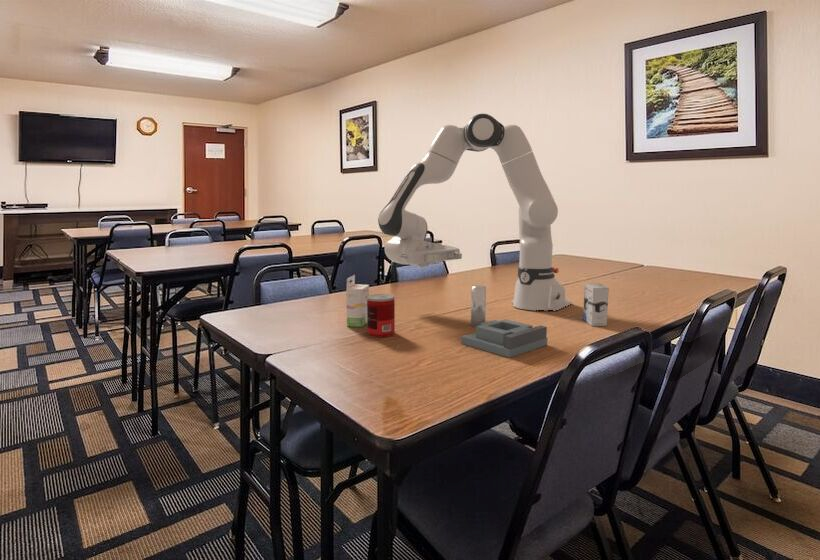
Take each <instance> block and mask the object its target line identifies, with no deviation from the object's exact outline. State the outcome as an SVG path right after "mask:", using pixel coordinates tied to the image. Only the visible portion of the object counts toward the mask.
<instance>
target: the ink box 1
mask: <svg viewBox="0 0 820 560" xmlns="http://www.w3.org/2000/svg"><path fill="white" fill-rule="evenodd" d="M350 281H351V282H350ZM355 282H356V275H355V274H353V275H352V276H349V277H348V278H346V289H345V291H346V293H345V294H346V327H349V326H350V328H362V327H364V326H365V325H366V324H368V322H367V297H368V296H369V295H370V284H358V283H357V284H356V283H355Z"/></svg>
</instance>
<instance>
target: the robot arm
mask: <svg viewBox="0 0 820 560" xmlns="http://www.w3.org/2000/svg"><path fill="white" fill-rule="evenodd" d="M488 149H491V150H493V151H494V152H495V153H496V154H497V156H498V159H499V161H500V164H501V167H502V171H503V172H504V174H505V178H506V180H507V182H508V185H509V188H510V189H511V191H512V193H513V195H514V197H515V199H516V202H517V203H518V206H519V207H518V234H519V236H518V237H519V265H518V266H517V270H516V271H517V277H518V278H517V280H516V282H515V285H514V286H515V287H514V296H513V299H511V304H513V307H514V308H516V309H521V310H527V311H536V310H537V311H538V310H544V311H548V310H553V311H552V312H557V311H556V310H558V311H560V310H562V309H564V308H566V307H568V305H569V306H570V304H571V305H572V304H573V303H572V300H570V299H566V289H565V286H563V285H562V284H561V283H560V282H559V281H558V280H557V279H556V278H555V277H556V276H555V274H559V272H560V271H559V270H560V269H559V267H553V245H554V244H553V239H552V229H551V225H552V224H553V223H554V222H555V221H556V219H557V217H558V214H559V211H558V205H557V203H556V202H555V198H554V197H553V194H552V192H551V190H550V188H549V186H548V184H547V182H546V180H545V178H544V177H543V175H542V172H541V169H540V167H539V165H538V162H537V159H536V156H535V154H534V152H533V149H532V146H531V145H530V142H529V140H528V138H527V136H526V135H525V133H524V131H523V130H522V128H521V127H520V126H518V125H516V124H508V125H505V126H504V125H503V123H501V122H500V121H498V120H497V119H496V118H495V117H494V116H492V115H490V114H488V113H477V114H475V115H473V116H472V117H471V118H470V119H469V120H468V122H467V123H466V125H464V126H462V127H458V126H457V125H453V124H446V125H443V126H442V127H441V128H440V130H439V131H438V132H437V134H436V136H435V137H434V139H433V140H432V142H431V144H430V146H429V149H428V151H427V153H426V154H425V156H424V157H423V158H422V160H421V161H420V162H419V163H415V164H414V165H413V166H412V167H411V168H410V169H409V170H408V172H407V173H406V175H405V176H404V177H403V179H402V181H401V182H400V184H399V185H398V187H397V188H396V190H395V192H394V194H393V195H392V196H391V198H390V200H389V201H388V203H387V204H386V205H385V206H384V208H382V210H381V211H380V213H379V215H378V219H377V223H378V227H379V229H380V231H381V233H383V235H386V236H391V239H389V240H387V241H386V243H385V244H384V254H385V256H386V257H387V259H389V260H390V261H392V262H393V263H396V264H399V265H410V266H413V267H419V268H425V267H428V266H430V265H433V264H435V263H440V262H446V261H455V260H460V259H462V258H463V253H461V250H460V248H459V247H455V246H450V245H444V244H442V243H441V242H431V241H427V240H426V238H427V234H428V223H427V221H426V219H425V217H424V216H421V215H419V214H416V213H413V212H410V211H408V210H405V209H406V207H407V206H408V204H409V202H410V201H411V199H412V198H413V196H414V195H415V193H416V191H417V190H418V188H420V187H422V186H424V185H425V186H426V185H429V184H430V185H432V184H434V185H435V184H442V183H445V182H447V181H448V180H449V179H451V178H452V176H453V175H454V173H455V171H456V169H457V167H458V164H459V162H460V159H462V156H463V154H464V153H465V152H466V151H471V152H484V151H486V150H488ZM565 306H566V307H565ZM563 307H564V308H563ZM561 308H562V309H561ZM559 309H560V310H559ZM537 311H536V312H537Z"/></svg>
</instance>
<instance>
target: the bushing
mask: <svg viewBox="0 0 820 560" xmlns="http://www.w3.org/2000/svg"><path fill="white" fill-rule="evenodd" d="M470 291H471V293H470V294H471V295H470V299H471V300H470V301H471V302H470V326H471V327H473V326H474V328H476V327H477V326H479V324H481V323H485V322H486V315H487V312H486V311H487V307H486V306H487V286H486V285H480V284H477V285H472V286H471V290H470Z"/></svg>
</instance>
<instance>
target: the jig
mask: <svg viewBox="0 0 820 560" xmlns="http://www.w3.org/2000/svg"><path fill="white" fill-rule="evenodd" d="M533 326H534V325H531V324H527V323H523V322H518V321H515V320H509V319H505V318H504V319H501V320H496V319H493V320H489V321H485V323H481V324H479V326H477V327H475V332H473V333H472V332H471V333H470V334H469V333H468V334H466V335H465V334H464V335H461V336H460V337H461V339H460V343H461V344H462V345H465V346H467V347H471V348H475V349H477V350H478V349H479V350H481V351H482V350H483V351H484V352H488V353H492V354H496V355H499V356H502V357H505V358H514V357H515V356H518V355H522V354H524V353H528V352H530V351H534V350H536V348H537V349H539V347H540V348H542V346H543V347H545V345H546V346H548V336H547V334H548V333H547V332H548V328H547V327H548V326H543V325H537V326H534V327H533Z"/></svg>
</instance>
